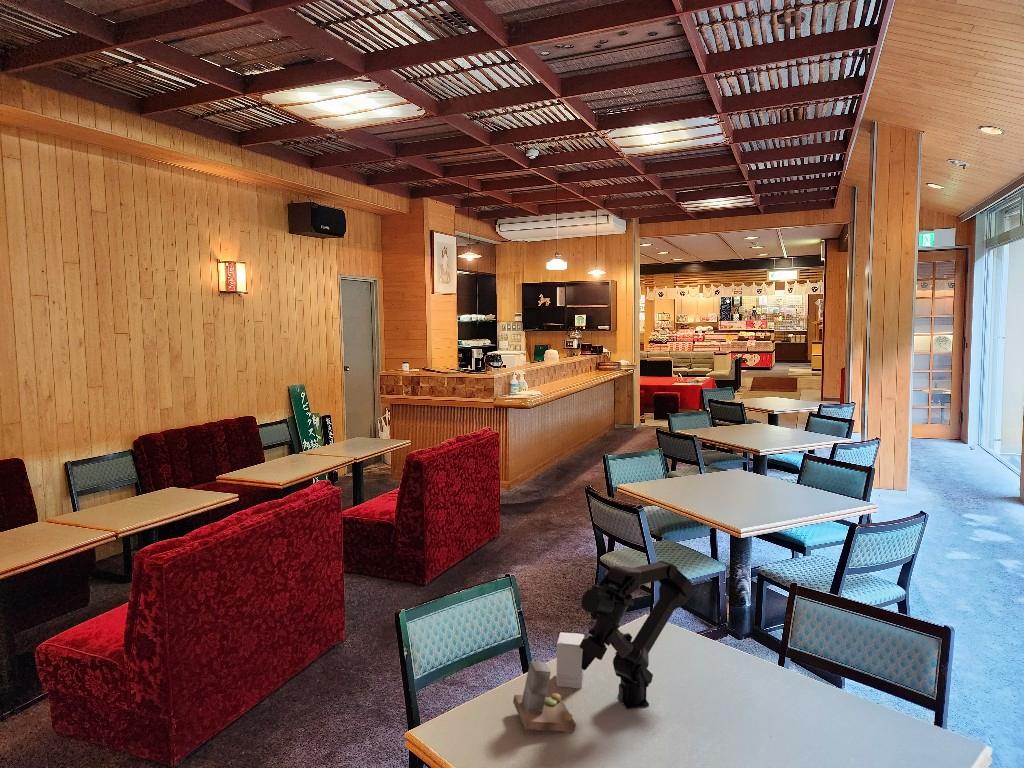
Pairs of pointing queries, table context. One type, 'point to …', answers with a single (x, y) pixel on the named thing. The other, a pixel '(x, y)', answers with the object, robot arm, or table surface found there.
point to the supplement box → (569, 660)
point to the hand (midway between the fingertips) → (583, 669)
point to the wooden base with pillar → (542, 703)
